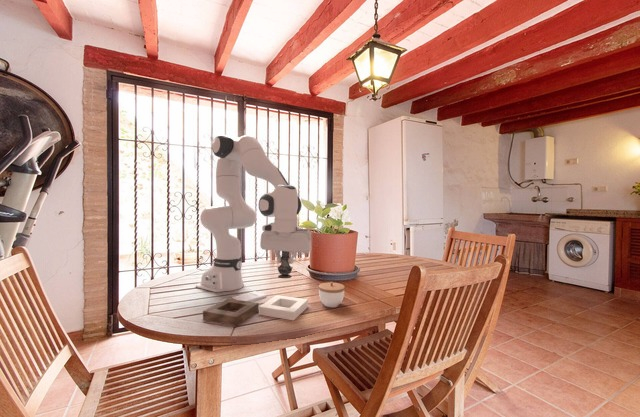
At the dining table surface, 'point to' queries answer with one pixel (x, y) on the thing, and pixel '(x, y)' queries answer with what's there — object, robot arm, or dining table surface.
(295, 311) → the off-white holder
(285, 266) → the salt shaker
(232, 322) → the walnut holder
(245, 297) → the external hard drive
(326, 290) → the lidded jar
